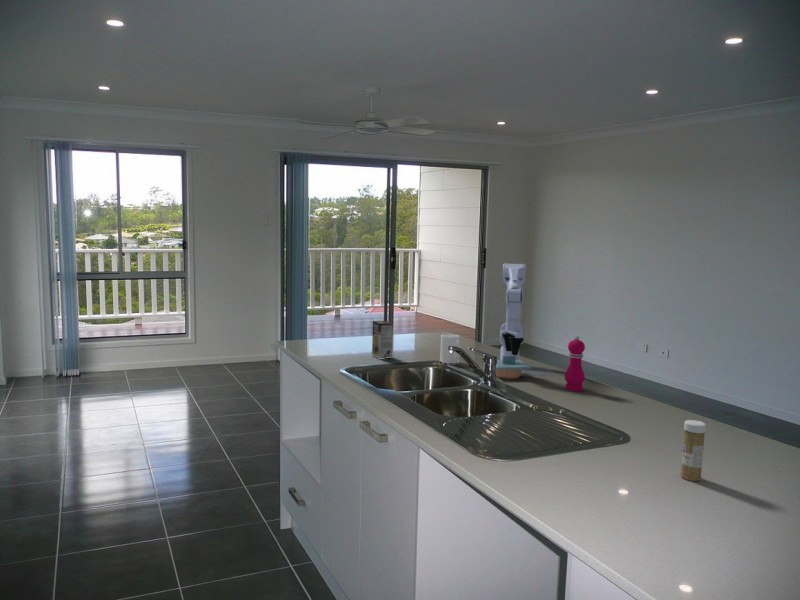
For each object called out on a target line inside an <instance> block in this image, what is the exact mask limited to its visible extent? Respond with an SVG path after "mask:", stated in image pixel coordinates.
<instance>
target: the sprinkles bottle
mask: <svg viewBox="0 0 800 600" xmlns="http://www.w3.org/2000/svg"><path fill="white" fill-rule="evenodd" d="M683 429H684V437H683V446H682V458H681V468H680V469H681V470H680V471H681V472H680V477H681V478H682V479H684V480H687V481H692V482H698V481H701V480H702V471H703V470H702V468H703V462H704V461H703V460H704V450H705V434H706V430H707V424H706V423H705V422H704V421H700V420H695V419H687V420H685V421H684V425H683Z"/></svg>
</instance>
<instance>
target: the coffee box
mask: <svg viewBox="0 0 800 600" xmlns="http://www.w3.org/2000/svg"><path fill="white" fill-rule="evenodd" d="M393 330H394V323H392V322H390V321H387V320H372V339H371V340H372V343H371V348H372V349H371V353H372V354H371V356H372V355H374V356H377V357H378V358H386V357H392V358H393V338H394V336H393V335H394V334H393V333H394V331H393ZM374 356H373V357H374Z"/></svg>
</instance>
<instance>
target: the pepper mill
mask: <svg viewBox="0 0 800 600" xmlns="http://www.w3.org/2000/svg"><path fill="white" fill-rule="evenodd" d="M567 349H568V351H569V352H568V357H569V365H568V368H567V369H566V371H565V374H564V380H565V381H566V383H565V387H564V388H565V390H567V391H569V390H571V392H582V391H583V390H584V384H583V383H584V382H585V381H586V375H585V372H584V370H583V367H582V360H583V358H584V353H583V352H584V351H585V349H586V345H585V343H584V342H583V341H582V340H580V336H579V335H575V336H574V339H572V340H570V341H569V342H568V345H567Z"/></svg>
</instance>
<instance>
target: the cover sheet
mask: <svg viewBox="0 0 800 600" xmlns="http://www.w3.org/2000/svg"><path fill="white" fill-rule="evenodd" d="M515 358H516V356H502V360H500V359H496V360H497V364H496V369H532V366H530V365H528V364H527V363H525V362H524V361H523V360H521V359H519V360H515Z"/></svg>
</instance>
